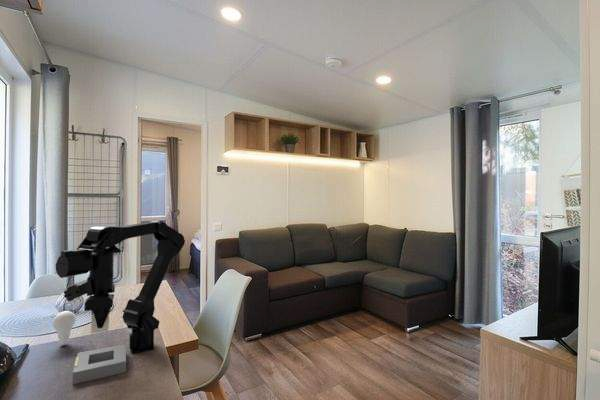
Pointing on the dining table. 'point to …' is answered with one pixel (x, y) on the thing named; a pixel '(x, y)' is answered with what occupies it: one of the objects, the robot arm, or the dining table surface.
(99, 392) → the dining table surface
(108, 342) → the dining table surface
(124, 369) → the socket
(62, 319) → the lightbulb
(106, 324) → the plug
